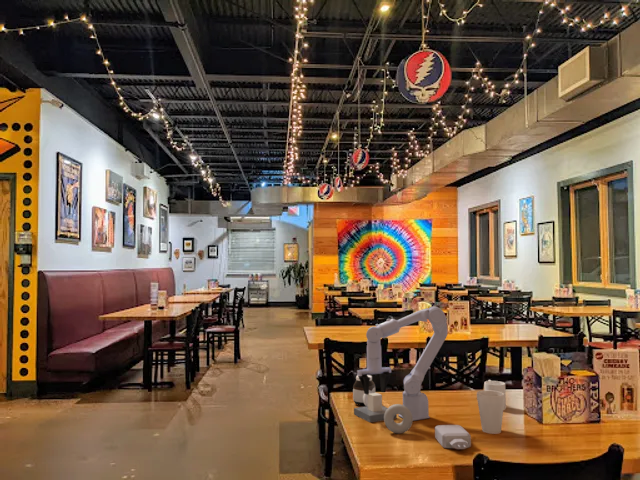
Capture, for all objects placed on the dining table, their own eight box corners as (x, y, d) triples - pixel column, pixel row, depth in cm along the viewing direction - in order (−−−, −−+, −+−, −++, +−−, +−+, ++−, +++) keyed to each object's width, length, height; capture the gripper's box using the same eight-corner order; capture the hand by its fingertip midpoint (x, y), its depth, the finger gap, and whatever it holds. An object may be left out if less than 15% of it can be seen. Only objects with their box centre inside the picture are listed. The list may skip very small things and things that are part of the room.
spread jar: (362, 400, 220) (362, 373, 221) (385, 404, 213) (385, 376, 214) (348, 406, 210) (347, 378, 211) (371, 410, 204) (371, 381, 205)
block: (376, 408, 198) (376, 392, 198) (382, 410, 194) (381, 394, 194) (367, 409, 196) (367, 393, 196) (373, 411, 192) (373, 395, 193)
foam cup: (485, 425, 183) (484, 389, 184) (510, 430, 176) (509, 393, 177) (472, 431, 176) (471, 393, 177) (497, 437, 169) (496, 398, 170)
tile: (379, 410, 203) (379, 404, 203) (396, 418, 192) (396, 411, 192) (354, 414, 198) (353, 408, 198) (369, 422, 187) (369, 415, 187)
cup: (498, 402, 215) (497, 378, 215) (509, 410, 203) (508, 385, 203) (479, 402, 214) (478, 379, 215) (489, 410, 202) (488, 385, 203)
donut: (412, 432, 175) (412, 403, 176) (413, 435, 172) (412, 405, 172) (384, 431, 177) (383, 402, 177) (384, 434, 173) (383, 405, 174)
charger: (448, 455, 153) (435, 439, 168) (477, 455, 153) (462, 439, 168) (447, 439, 153) (434, 425, 168) (477, 439, 154) (461, 424, 169)
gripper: (384, 354, 203) (384, 388, 202) (353, 357, 197) (353, 392, 196) (394, 357, 197) (394, 392, 196) (362, 360, 191) (362, 396, 190)
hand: (374, 392), depth 196 cm, fingers open, 7 cm apart
